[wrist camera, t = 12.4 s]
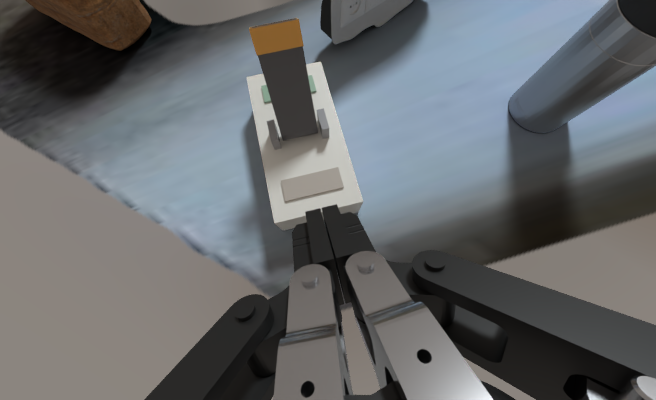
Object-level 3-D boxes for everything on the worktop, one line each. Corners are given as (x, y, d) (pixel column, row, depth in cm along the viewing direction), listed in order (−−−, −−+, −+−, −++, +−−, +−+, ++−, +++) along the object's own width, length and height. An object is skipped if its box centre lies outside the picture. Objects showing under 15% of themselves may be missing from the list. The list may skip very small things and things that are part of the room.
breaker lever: (316, 128, 36) (296, 17, 27) (319, 135, 34) (298, 19, 26) (282, 136, 36) (250, 27, 27) (283, 144, 34) (249, 29, 25)
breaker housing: (322, 88, 45) (320, 48, 37) (358, 212, 38) (365, 196, 30) (257, 102, 44) (241, 64, 36) (283, 230, 38) (269, 219, 30)
